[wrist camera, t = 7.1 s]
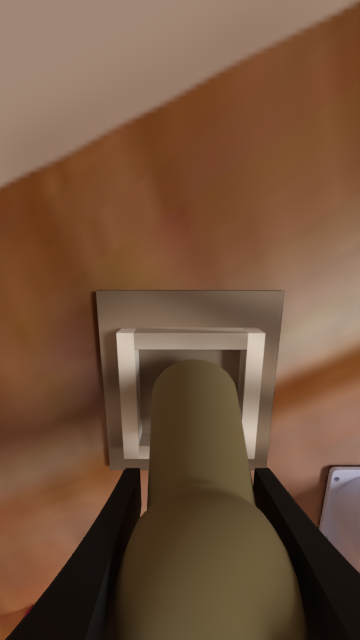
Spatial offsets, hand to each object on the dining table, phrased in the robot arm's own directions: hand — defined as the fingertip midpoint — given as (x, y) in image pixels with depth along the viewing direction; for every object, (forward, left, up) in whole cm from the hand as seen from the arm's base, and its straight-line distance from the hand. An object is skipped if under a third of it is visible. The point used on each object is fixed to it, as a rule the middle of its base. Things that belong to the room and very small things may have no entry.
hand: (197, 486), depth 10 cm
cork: (+1, 0, -6) cm, 6 cm away
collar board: (0, 0, -9) cm, 9 cm away
